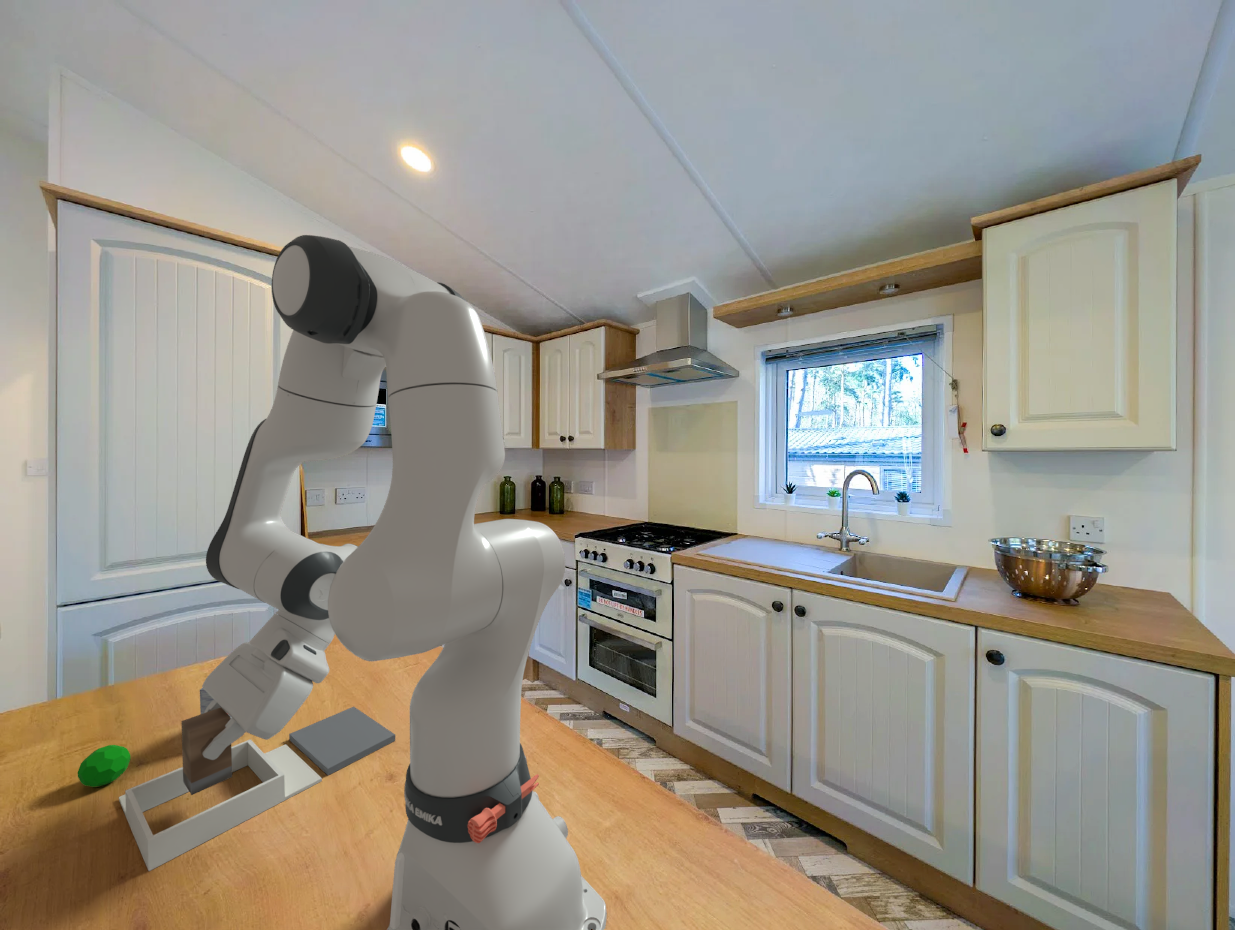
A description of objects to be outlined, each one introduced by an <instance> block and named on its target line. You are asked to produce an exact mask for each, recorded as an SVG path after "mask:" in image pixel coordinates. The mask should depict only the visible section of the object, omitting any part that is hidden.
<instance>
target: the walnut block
mask: <svg viewBox="0 0 1235 930" xmlns="http://www.w3.org/2000/svg"><path fill="white" fill-rule="evenodd" d="M230 719H231V717H230V716H229V715H228V714H227V713H226V712H225V711H224V710H223V709H222V708H221V707H220V708H217V709H215V710H212V711H209V712H206V713H203V714H201V713H200V714H198V715H194V716H192V717H189V718H186V719H184V720H183V719H182V720H181V748H182V749H181V751H182V753H181V754H182V755H181V756H182V767H183V782H184V784H185V786H186V787H187V789H188V790H189V792H188V793H189V794H190V795H191V796H193V795H196V794H198V793H200V792H202V791H205V790H206V789H208V788H210V787H213V786H215V785H217V784H219V783H222V782H224V781H227V780H228V779H230V778H233V772H232V753H231V747H232V744H230V745H229V746H227V747H226V748H225V749H224V751H223V752H222V753H221V754H220V755H219V757H218V758H216V759H215V760H211V759H208V758H205V757H204V756H203V755H202V754H201V749H202V747H203V746H205V744H206V743H207V742H208V740H209V739H210V738H215V737H216V736H217V735H218V734H219V733H221V732H222V731H223V730H224V729H225V728H226V727H225V725H226V724H227V723H228V721H229V720H230Z"/></svg>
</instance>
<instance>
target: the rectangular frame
mask: <svg viewBox="0 0 1235 930" xmlns="http://www.w3.org/2000/svg"><path fill="white" fill-rule="evenodd" d="M231 753H232V773H233V772H236V771H238V770H240V769H243V768H245V767H247V766H248V767H249V768H250V769H251V771H252V772H253V773H254V774H255V775H256V776H257V777H258V778H259V780H260V781H261V782H262V783H259V784H258V785H255V786H252V787H251V788H250V789H248V790H246V791H243V792H241V793H238V794H236V795H234V796H233V797H230V798H229V799H227V800H223V801H222V802H220V803H218V804H216V805H214V806H211V807H210V808H208V809H205V810H204V811H201V812H199V813H197V814H195V815H192V816H191V817H189V818H187V819H185V820H182V821H181V822H179V823H176V824H174V825H173V826H170V827H168V828H166V829H164V830H161V831H159V832H157V833H155V834H153V832H152V830H151V828H150V825H149V824H148V822H147V820H146V817H145V815H144V812H146V811H148V810H150V809H153V808H155V807H157V806H159V805H162V804H164V803H166V802H168V801H171V800H173V799H175V798H177V797H180V796H182V795H184V794H186V793H190V792H189V790H188V789H187V787H186V786H185V784H184V782H183V766H182V767H179V768H177V769H173V770H172V771H170V772H166V773H164V774H162V775H159V776H157V777H154V778H152V779H150V780H147V781H145V782H143V783H140V784H138V785H136V786H133V787H132V786H131V788H130V787H129V788H128V789H125V790H124V792H125V793H124V794H122V795H120V796H119V797H118V801H119V804H120V806H121V808H122V810H123V813H124V816H125V818H126V820H127V821H126V822H128V826H129V828H130V830H131V833H132V836H133V837H134V840H135V842H136V844H137V847H138V849H139V851H140V854H141V856H142V858H143V861H144V864H145V866H146V868H147V870H148V872H151V871H152V870H154V869H156V868H158V867H159V866H162V865H164V864H165V863H168V862H170V861H172V860H173V859H176V858H177V857H178V856H179V857H180V856H181V855H183V854H185V853H187V852H188V851H191V850H193V849H194V848H197V847H198V846H200V845H202V844H205V843H206V842H208V841H209V840H212V839H213V838H216V837H218V836H219V835H221V834H224V833H225V832H227V831H229V830H231V829H232V828H235V827H237V826H238V825H240V824H242V823H245V822H246V821H248V820H249V819H252V818H255V816H257V815H259V814H261V813H263V812H265V811H267V810H269V809H271V808H273V807H275V806H277V805H278V804H279V805H280V803H282V802H284V801H287V800H288V799H290V798H292V797H294V796H296V795H297V794H300V793H302V792H304V791H306V790H307V789H309V788H311V787H313V786H315V785H317V784H319V783H321V782H322V781H323V778H322V777H321V776H320V775H319V774H318V773H317V772H316V771H315V770H314V769H313V768H311V767H310V766H309V764H307V763H306V762H305V761H304V759H302V758H301V757H300V756H299V755H298V754H297V753H296V752H295V751H294V750H293V749H292V748H290V747H289V746H288V744H284V745H281V746H278V747H276V748H274V749H272V750H270V751H267V752H263V751H262V750H261V749H260V747H258V745H257V744H255V742H254V741H253V740H252V739H251V738H250V739H248V740H245V741H243V742H240V743H238V744H235V745H233V746H231Z"/></svg>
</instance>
